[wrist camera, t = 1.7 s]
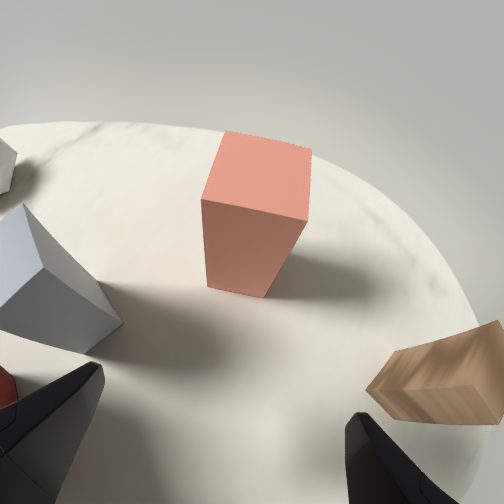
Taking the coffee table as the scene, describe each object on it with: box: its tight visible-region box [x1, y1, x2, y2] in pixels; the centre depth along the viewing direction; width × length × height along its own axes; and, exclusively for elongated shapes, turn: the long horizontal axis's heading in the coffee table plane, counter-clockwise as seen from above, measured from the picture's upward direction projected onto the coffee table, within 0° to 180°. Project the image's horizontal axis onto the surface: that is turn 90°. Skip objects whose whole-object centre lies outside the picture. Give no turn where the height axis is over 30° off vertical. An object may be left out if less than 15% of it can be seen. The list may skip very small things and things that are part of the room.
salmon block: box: [201, 131, 312, 298], centre depth 19 cm, size 5×5×13 cm
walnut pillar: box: [366, 320, 504, 425], centre depth 16 cm, size 5×5×13 cm
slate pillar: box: [0, 202, 123, 354], centre depth 16 cm, size 5×5×13 cm
